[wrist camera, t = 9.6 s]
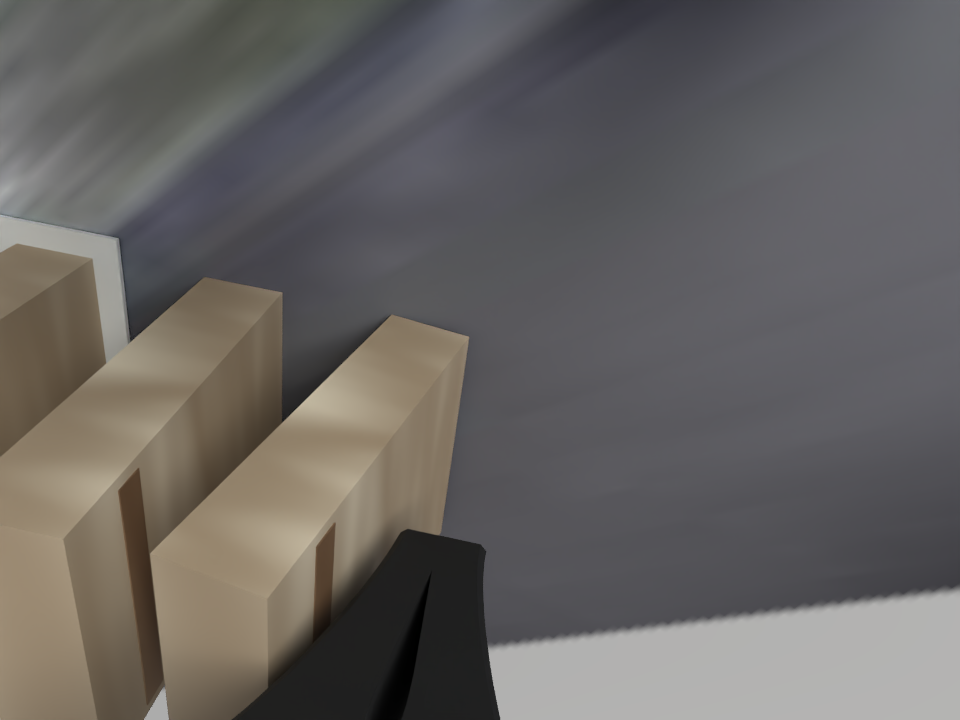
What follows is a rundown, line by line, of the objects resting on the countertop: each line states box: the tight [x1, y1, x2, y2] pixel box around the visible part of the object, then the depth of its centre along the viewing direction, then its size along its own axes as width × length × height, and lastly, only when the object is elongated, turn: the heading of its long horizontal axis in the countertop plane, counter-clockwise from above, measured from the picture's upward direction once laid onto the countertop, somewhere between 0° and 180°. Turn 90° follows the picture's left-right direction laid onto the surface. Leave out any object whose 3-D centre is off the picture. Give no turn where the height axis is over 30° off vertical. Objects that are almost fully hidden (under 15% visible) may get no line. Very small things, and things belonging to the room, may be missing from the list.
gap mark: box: [0, 215, 130, 363], centre depth 17 cm, size 3×6×1 cm, turn 172°
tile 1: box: [150, 315, 469, 720], centre depth 14 cm, size 2×5×7 cm, turn 172°
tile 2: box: [0, 277, 282, 720], centre depth 14 cm, size 2×5×7 cm, turn 173°
